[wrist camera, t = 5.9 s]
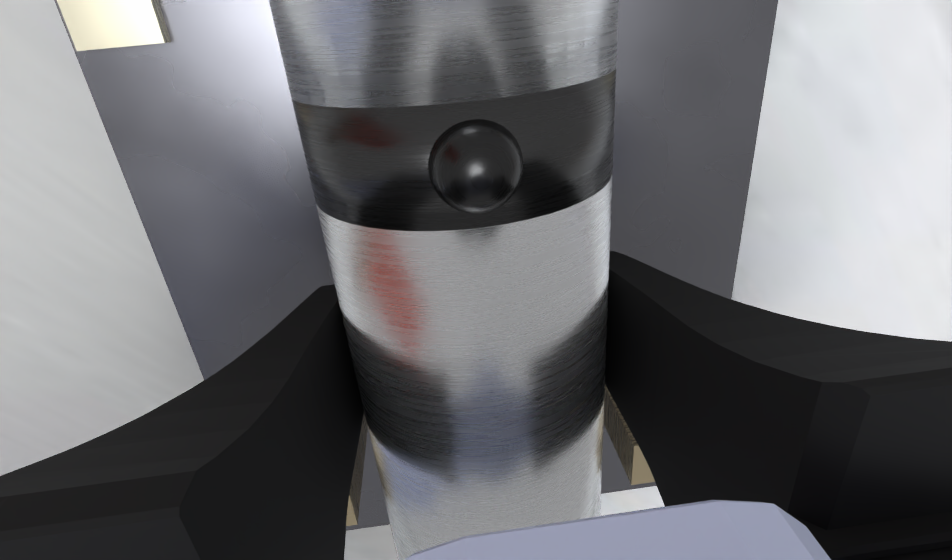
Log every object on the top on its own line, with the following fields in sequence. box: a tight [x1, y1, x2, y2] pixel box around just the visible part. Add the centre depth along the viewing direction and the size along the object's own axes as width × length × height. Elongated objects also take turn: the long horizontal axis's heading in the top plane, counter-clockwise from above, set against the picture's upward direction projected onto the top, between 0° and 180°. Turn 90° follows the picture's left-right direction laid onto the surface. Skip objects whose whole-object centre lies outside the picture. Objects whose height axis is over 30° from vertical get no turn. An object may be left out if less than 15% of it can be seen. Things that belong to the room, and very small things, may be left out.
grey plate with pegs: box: [55, 0, 778, 530], centre depth 11 cm, size 22×14×4 cm, turn 5°
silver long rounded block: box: [269, 0, 619, 560], centre depth 11 cm, size 20×5×6 cm, turn 5°
